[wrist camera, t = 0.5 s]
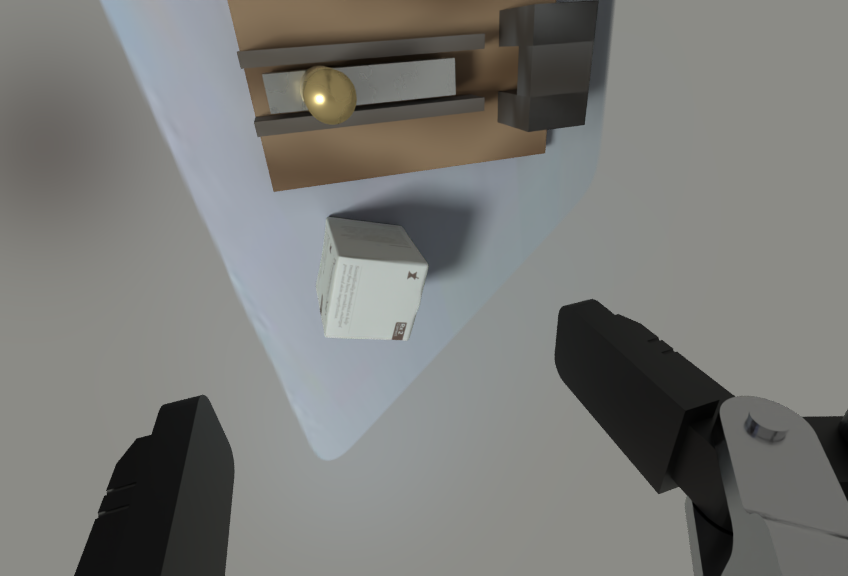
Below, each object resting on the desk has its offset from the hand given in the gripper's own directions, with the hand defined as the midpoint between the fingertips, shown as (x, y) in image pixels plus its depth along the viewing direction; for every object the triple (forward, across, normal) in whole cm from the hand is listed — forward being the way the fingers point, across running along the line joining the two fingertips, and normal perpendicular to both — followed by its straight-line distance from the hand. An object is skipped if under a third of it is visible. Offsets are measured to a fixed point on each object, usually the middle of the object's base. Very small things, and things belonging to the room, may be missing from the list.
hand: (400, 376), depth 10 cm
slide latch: (+22, -3, -4) cm, 23 cm away
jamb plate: (+24, -7, -4) cm, 25 cm away
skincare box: (+24, -2, +8) cm, 25 cm away
